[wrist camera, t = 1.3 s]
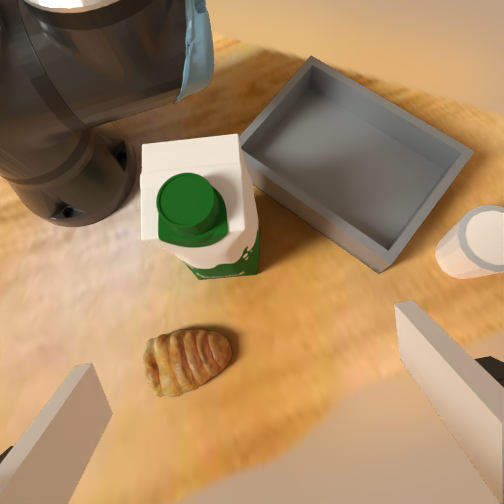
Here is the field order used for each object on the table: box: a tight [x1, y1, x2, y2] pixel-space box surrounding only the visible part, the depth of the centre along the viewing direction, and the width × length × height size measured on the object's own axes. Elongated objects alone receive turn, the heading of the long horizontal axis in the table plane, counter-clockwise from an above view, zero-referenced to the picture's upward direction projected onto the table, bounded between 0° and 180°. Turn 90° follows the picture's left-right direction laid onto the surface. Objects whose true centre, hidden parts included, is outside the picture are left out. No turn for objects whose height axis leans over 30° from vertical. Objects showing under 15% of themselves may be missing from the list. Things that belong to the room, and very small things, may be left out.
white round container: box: [435, 205, 504, 279], centre depth 38 cm, size 7×7×7 cm
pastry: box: [143, 329, 232, 397], centre depth 39 cm, size 9×7×4 cm
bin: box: [239, 56, 475, 274], centre depth 43 cm, size 22×16×5 cm
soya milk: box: [140, 134, 260, 280], centre depth 34 cm, size 9×9×20 cm
